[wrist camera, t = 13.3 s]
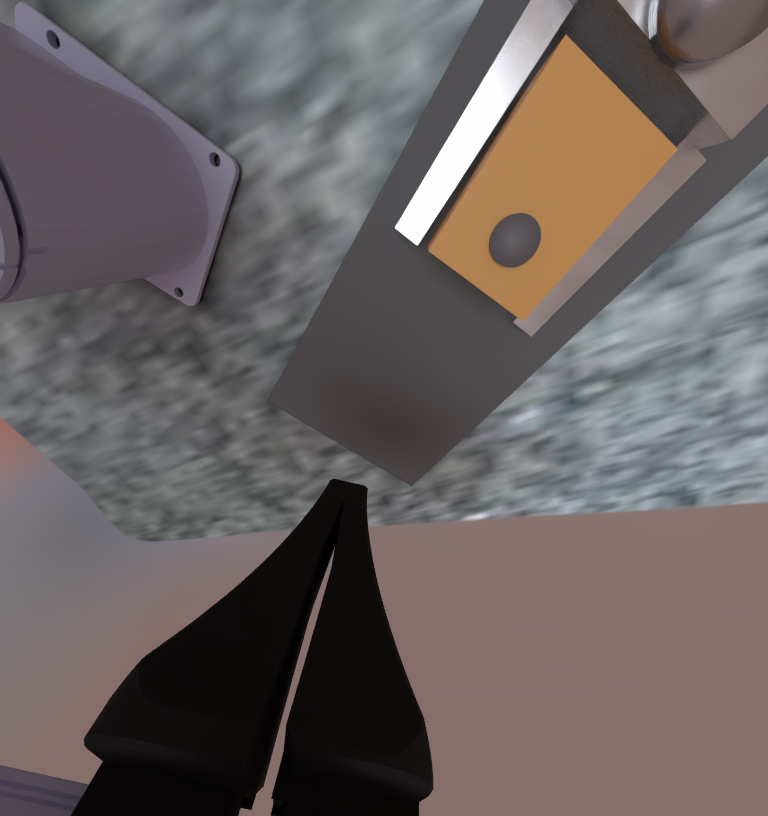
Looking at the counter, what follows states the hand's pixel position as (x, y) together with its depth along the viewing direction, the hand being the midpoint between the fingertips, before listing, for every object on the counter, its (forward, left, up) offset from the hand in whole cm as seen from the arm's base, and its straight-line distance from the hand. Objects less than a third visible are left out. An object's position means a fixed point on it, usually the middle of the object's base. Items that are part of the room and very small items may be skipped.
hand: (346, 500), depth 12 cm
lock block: (0, +11, -9) cm, 14 cm away
